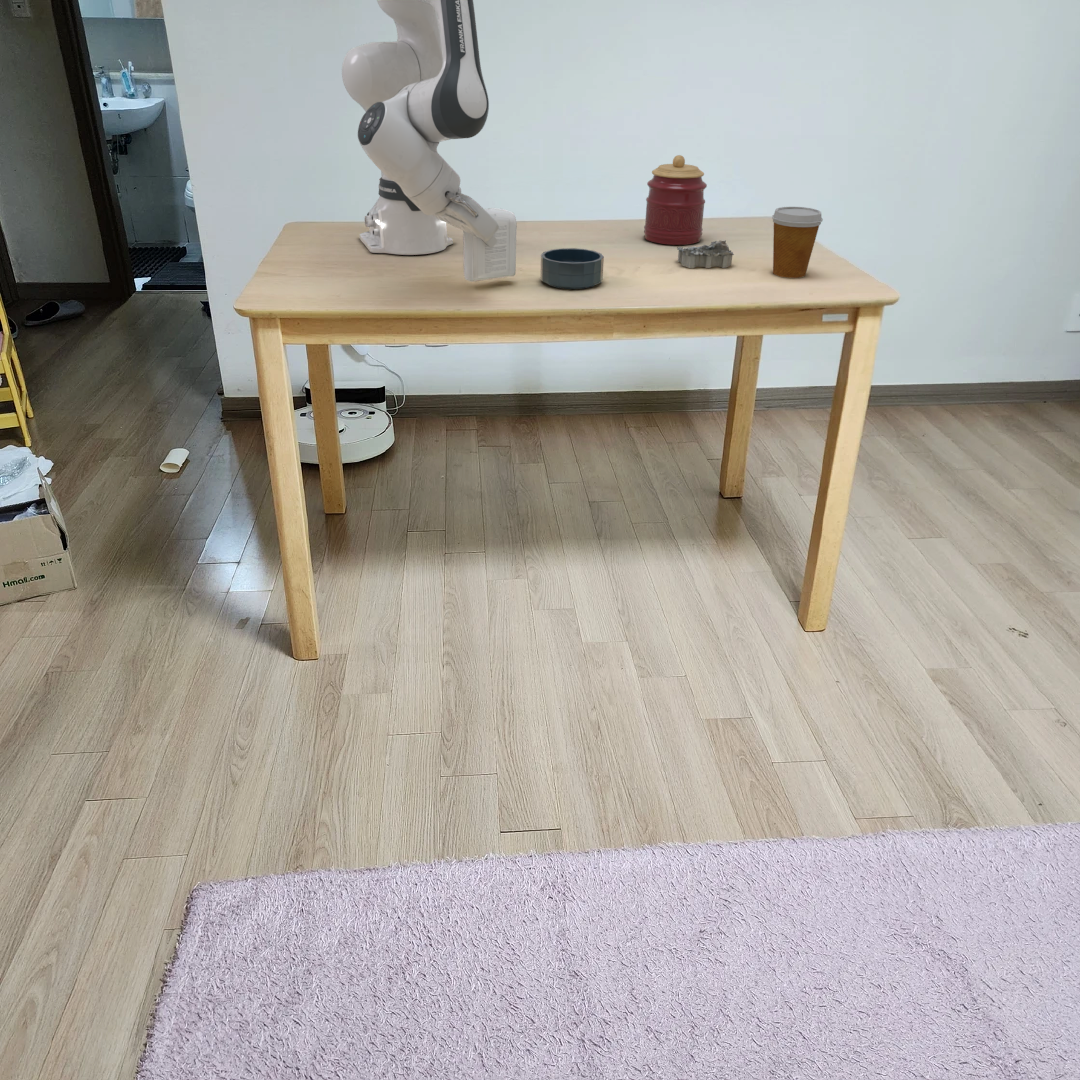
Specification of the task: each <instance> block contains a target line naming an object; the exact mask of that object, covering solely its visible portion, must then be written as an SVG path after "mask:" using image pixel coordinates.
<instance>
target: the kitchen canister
mask: <svg viewBox="0 0 1080 1080" xmlns="http://www.w3.org/2000/svg"><path fill="white" fill-rule="evenodd" d="M685 163H686V159H685V157H684V156H683V155H682V154H677V155H675V156H674V157H673V158H672V163H664V164H660V165H658V166H657V167H656V168H655V169H653V170H652V171H651V174H652V175H653V176H652V178H651V179H650V180H648V181H647V182H646V183H647V186H648V188H649V189H648V195H647V196H646V198H645V201H646V208H645V220H644V221H645V224H644V226H643V228H644V229H643V233H644V239H645V240H647V241H648V242H651V243H654V244H655V243H656V244H661V245H668V246H684V245H693V244H697V243H699V242H700V241H701V238H702V235H703V220H704V210H705V204H706V199H705V197H704V196H705V195H704V194H705V189H706V188H707V187H708V186H707V185H708V184H707V183H706V182H705V181H704V180H703V176H704V175H705V173H704V171H702V170H701V169H700V168H699V167H698V166H697V165H694V164H685Z"/></svg>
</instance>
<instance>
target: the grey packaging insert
mask: <svg viewBox="0 0 1080 1080" xmlns="http://www.w3.org/2000/svg"><path fill="white" fill-rule="evenodd" d="M676 249H677V251H678V253H677V262H678V263H679V264H680V263H681V264H680V265H681V266H682V267H685V268H689V269H695V268H696V267H699V268H701V267H702V268H705V269H711V268H712V267H718V268H722V269H726V268H728V267H731V266H732V261H733V256H734V255H735V254H734V252H733V251H732V250H730V248H729V245H728V243H727V240H718V241H717V240H714V241H711V242H710V244H702V245H701V246H690V247H689V246H688V247H686V248H683V246H682V247H681V246H677V247H676Z"/></svg>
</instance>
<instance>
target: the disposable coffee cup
mask: <svg viewBox="0 0 1080 1080" xmlns="http://www.w3.org/2000/svg"><path fill="white" fill-rule="evenodd" d="M771 219H772V222H773V237H772V238H773V241H772V243H773V245H772V248H773V249H772V252H773V253H772V255H773V256H772V274H773V275H775V276H777V277H779V278H787V279H800V278H803V277H805V276H806V274H807V271H808V267H809V263H810V260H811V257H812V253H813V249H814V246H815V243H816V240H817V239H816V238H817V235H818V232H819V227H820V226H821V224H822V222H823V220H824V219H823V218H822V211H821V210H819V209H815V208H812V207H805V206H781V207H777V208H776V209H775V210H774V213H773V215H771Z"/></svg>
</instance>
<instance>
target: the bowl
mask: <svg viewBox="0 0 1080 1080" xmlns="http://www.w3.org/2000/svg"><path fill="white" fill-rule="evenodd" d="M604 259H605V257H604V255H603V254H602V253H601V252H598V251H595V250H591V249H587V248H576V247H575V248H573V247H567V248H554V249H549V250H545V251H543V252H542V253H541V254H540V279H541V281H542V282H543V283H544V284H547V285H548V286H550V287H553V288H558V289H564V290H584V289H590V288H593V287H595V286H596V285H599V284H601V283H602V281H603V280H604V264H605V263H604V262H605V261H604Z"/></svg>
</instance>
